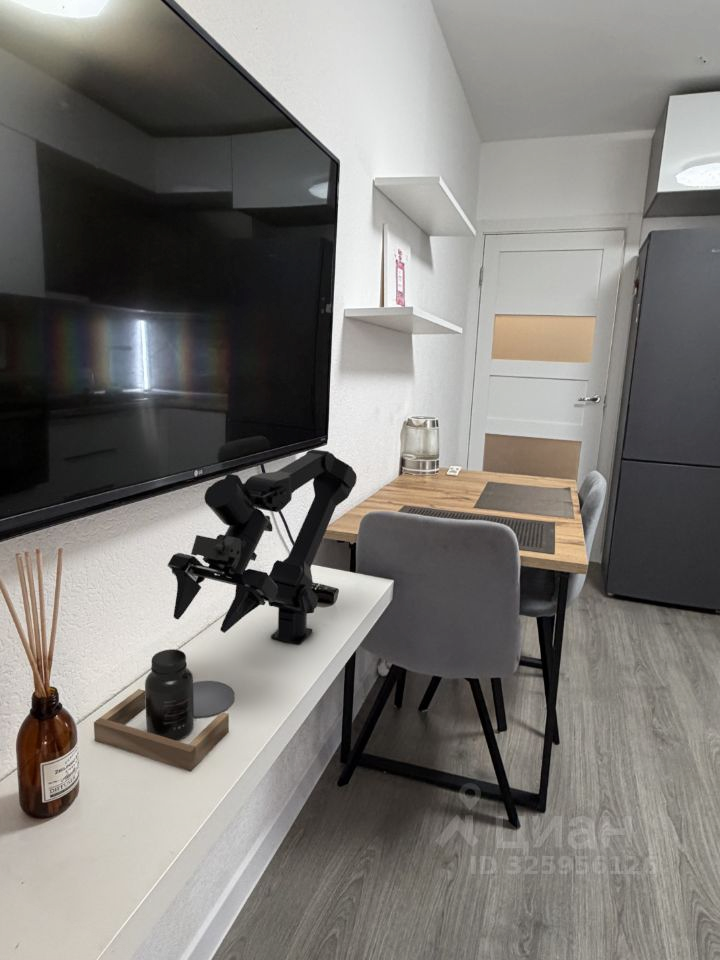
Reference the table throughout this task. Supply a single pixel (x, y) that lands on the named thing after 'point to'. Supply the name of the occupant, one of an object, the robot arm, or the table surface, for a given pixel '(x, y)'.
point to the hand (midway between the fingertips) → (198, 624)
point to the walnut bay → (152, 745)
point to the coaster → (211, 698)
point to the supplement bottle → (169, 696)
